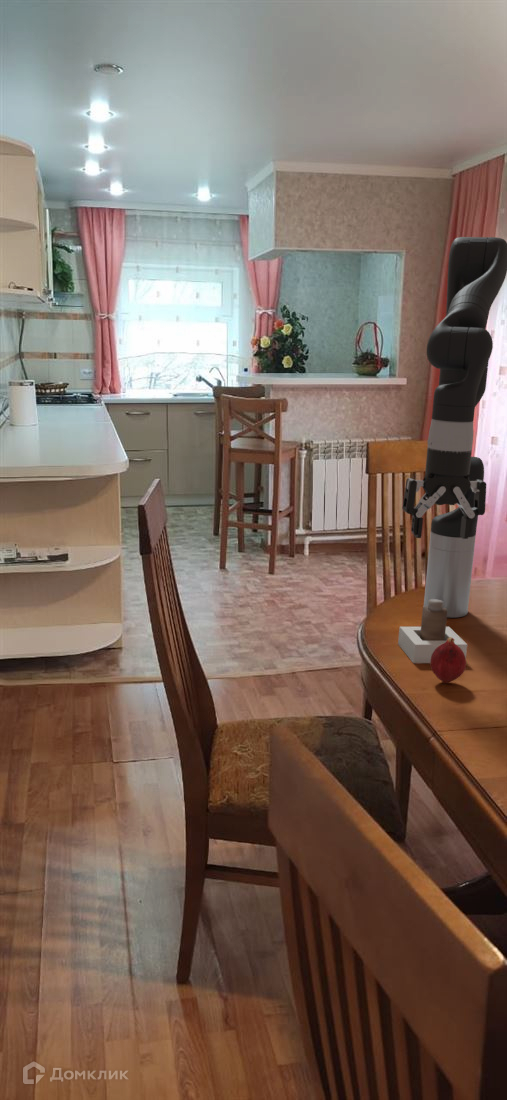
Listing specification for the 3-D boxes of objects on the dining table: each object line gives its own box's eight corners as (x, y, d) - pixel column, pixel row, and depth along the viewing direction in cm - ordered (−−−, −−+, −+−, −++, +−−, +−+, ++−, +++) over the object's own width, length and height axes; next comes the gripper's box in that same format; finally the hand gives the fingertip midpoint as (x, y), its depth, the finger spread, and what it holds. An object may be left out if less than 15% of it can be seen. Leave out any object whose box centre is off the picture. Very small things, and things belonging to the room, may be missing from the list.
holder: (398, 644, 158) (399, 626, 157) (447, 644, 160) (448, 626, 159) (413, 663, 149) (415, 644, 148) (465, 662, 150) (467, 644, 149)
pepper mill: (421, 647, 157) (426, 596, 155) (444, 651, 155) (450, 600, 153) (416, 655, 153) (421, 602, 151) (440, 659, 152) (446, 606, 149)
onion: (464, 691, 137) (469, 645, 136) (428, 687, 139) (433, 642, 137) (463, 678, 143) (467, 634, 141) (428, 674, 144) (432, 630, 142)
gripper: (416, 448, 141) (408, 542, 145) (497, 450, 142) (487, 543, 146) (403, 442, 148) (396, 532, 152) (481, 444, 149) (471, 533, 154)
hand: (440, 537), depth 149 cm, fingers open, 8 cm apart
